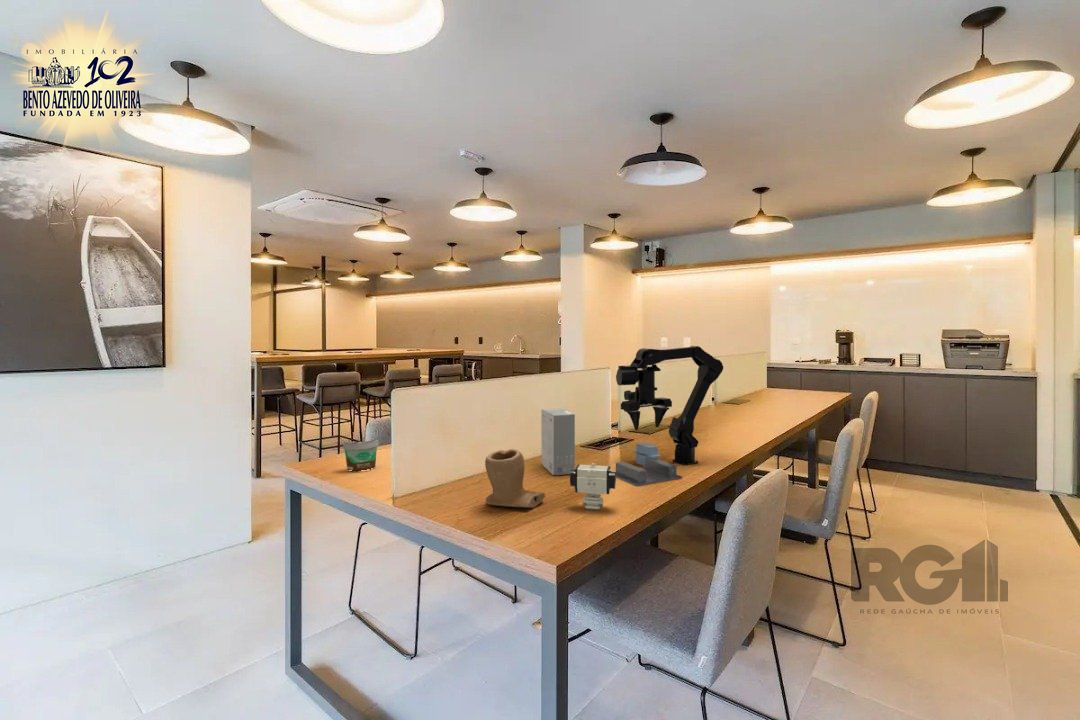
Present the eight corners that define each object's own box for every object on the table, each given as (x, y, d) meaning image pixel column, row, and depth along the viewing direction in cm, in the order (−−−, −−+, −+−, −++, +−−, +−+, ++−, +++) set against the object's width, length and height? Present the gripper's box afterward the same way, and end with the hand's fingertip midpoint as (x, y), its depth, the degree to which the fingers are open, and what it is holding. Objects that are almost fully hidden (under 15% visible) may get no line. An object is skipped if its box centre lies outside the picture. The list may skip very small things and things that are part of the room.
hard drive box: (575, 474, 164) (575, 414, 163) (553, 476, 162) (553, 415, 161) (561, 462, 179) (561, 407, 178) (540, 464, 177) (540, 408, 176)
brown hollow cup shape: (477, 510, 132) (476, 453, 131) (495, 496, 143) (495, 444, 142) (531, 516, 127) (530, 458, 126) (545, 501, 138) (545, 447, 137)
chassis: (653, 468, 171) (653, 456, 171) (682, 478, 159) (682, 465, 158) (610, 474, 163) (610, 462, 163) (636, 486, 151) (636, 473, 150)
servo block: (632, 461, 180) (632, 442, 180) (641, 460, 182) (641, 441, 182) (652, 468, 170) (652, 448, 170) (661, 467, 172) (661, 447, 172)
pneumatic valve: (572, 503, 136) (572, 460, 135) (615, 506, 133) (615, 462, 133) (569, 510, 131) (569, 465, 130) (614, 513, 128) (614, 467, 127)
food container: (350, 475, 165) (349, 445, 164) (343, 471, 169) (342, 442, 169) (385, 468, 173) (384, 439, 172) (377, 465, 177) (377, 437, 177)
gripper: (651, 380, 186) (652, 422, 187) (610, 384, 177) (611, 427, 178) (672, 383, 176) (673, 427, 177) (630, 386, 167) (631, 432, 168)
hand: (646, 428), depth 175 cm, fingers open, 9 cm apart
